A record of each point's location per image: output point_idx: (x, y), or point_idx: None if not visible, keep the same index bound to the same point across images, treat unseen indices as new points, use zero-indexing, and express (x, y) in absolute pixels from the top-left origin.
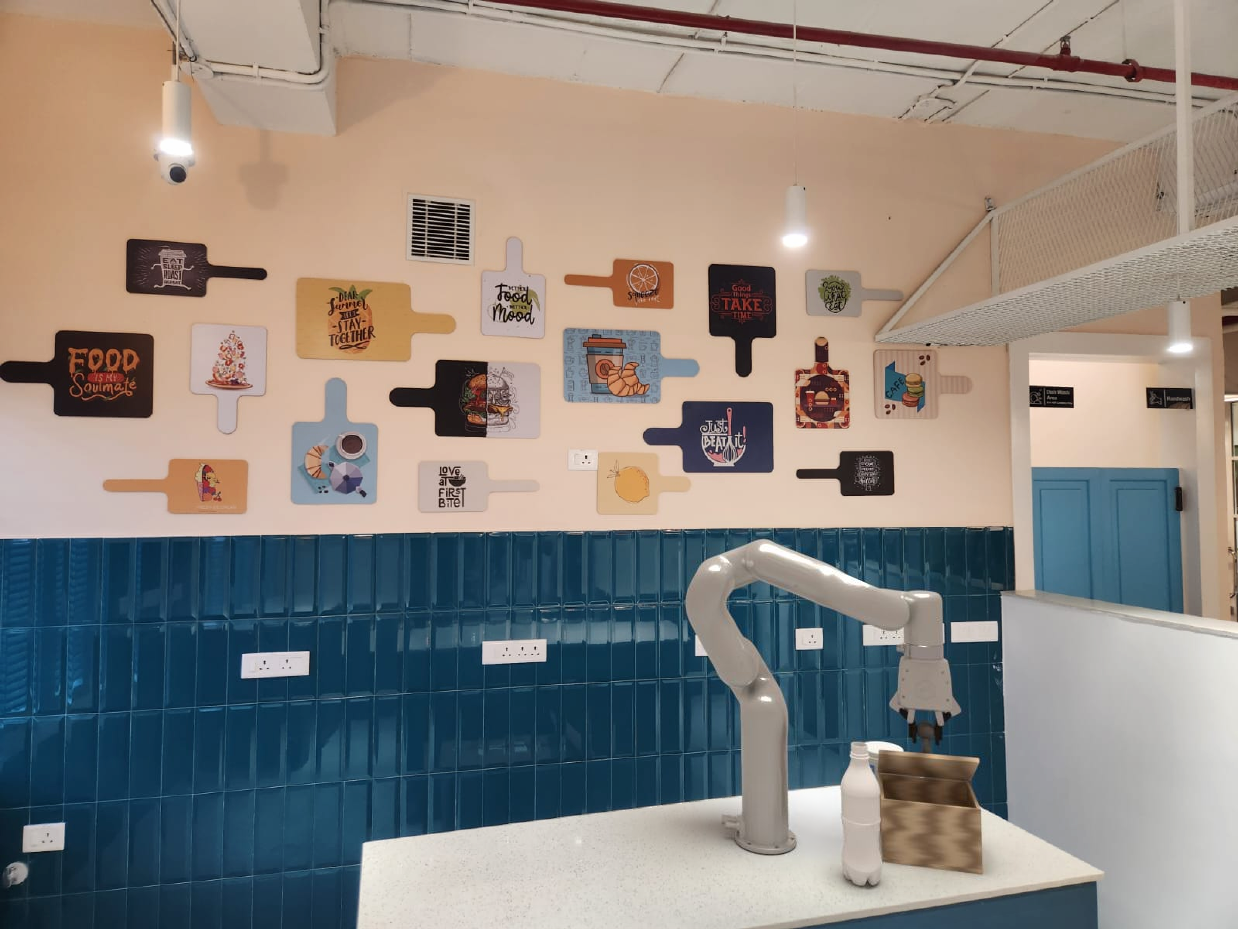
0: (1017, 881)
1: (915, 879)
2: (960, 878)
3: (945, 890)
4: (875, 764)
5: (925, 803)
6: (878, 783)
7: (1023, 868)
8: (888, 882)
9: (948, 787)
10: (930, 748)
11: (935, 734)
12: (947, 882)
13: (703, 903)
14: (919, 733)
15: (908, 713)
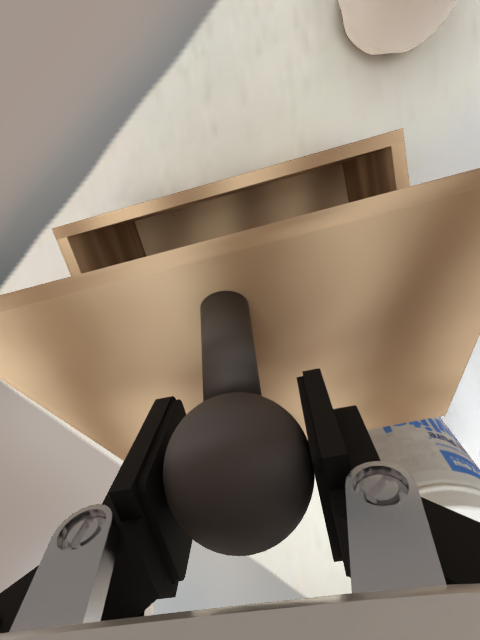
0: (61, 222)
1: (257, 97)
2: (166, 167)
3: (184, 77)
4: (451, 474)
5: (234, 183)
6: (416, 433)
7: None
8: (316, 35)
9: None
10: (202, 343)
11: (160, 440)
12: (187, 126)
13: None
14: (276, 407)
15: (433, 553)
